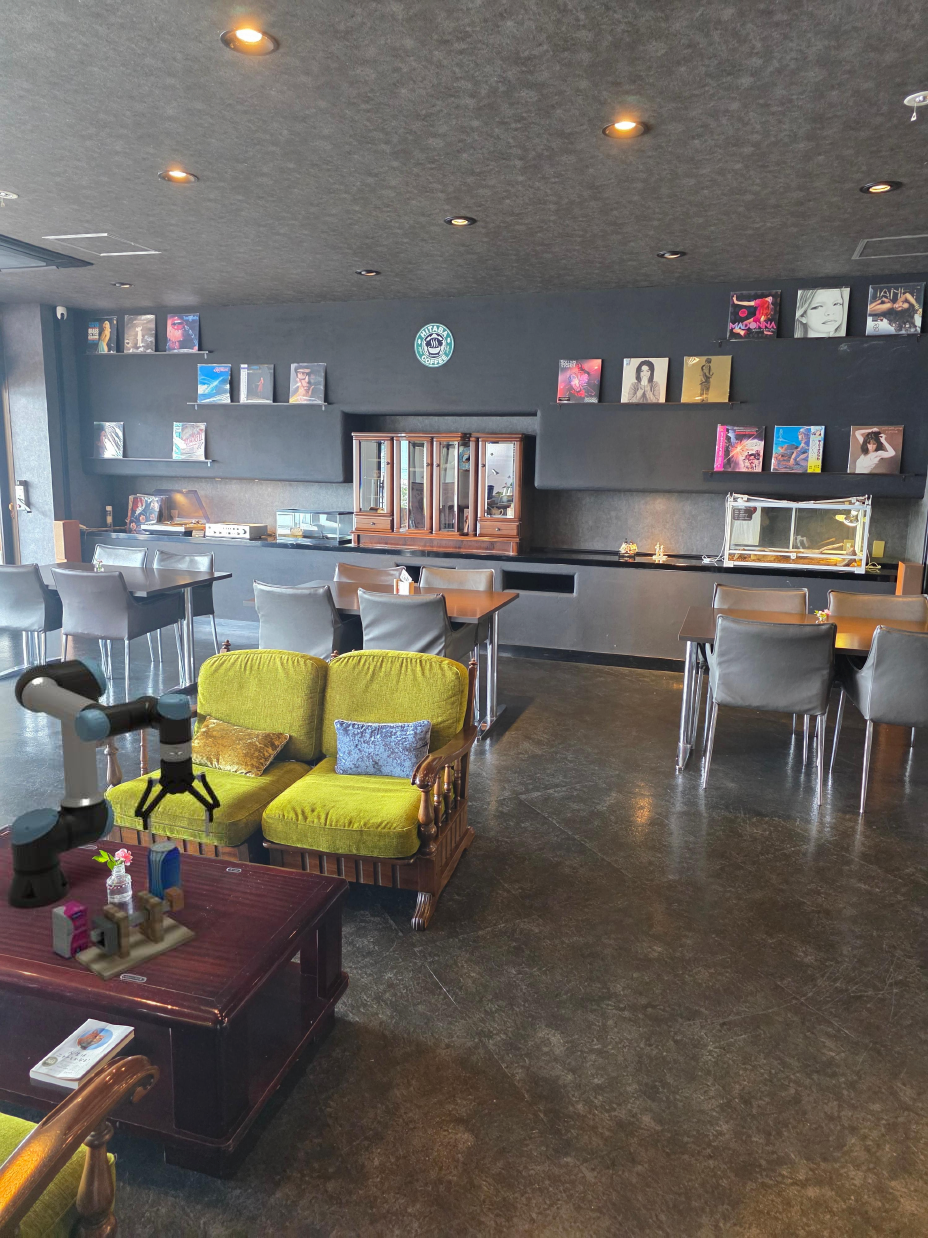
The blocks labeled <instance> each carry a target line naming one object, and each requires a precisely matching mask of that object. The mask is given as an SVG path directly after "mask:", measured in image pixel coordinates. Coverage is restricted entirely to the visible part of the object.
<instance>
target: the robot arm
mask: <svg viewBox="0 0 928 1238" xmlns="http://www.w3.org/2000/svg"><path fill="white" fill-rule="evenodd" d="M107 687H108V683H107V678H106V676H105V672H104V671H103V668H102V667H101V666H100V664H99V663H98V662H97V661H95V660H94V659H92V658H75V659H71V660H64V661H58V662H53V663H48V664H47V663H46V664H39V665H36V666H33V667H30V668H29V669H27V670H25V671H24V672H23V673H22V674H21V675H20V676H19V678H18V679H17V681H16V683H15V686H14V697H15V699H16V701H17V703H19V705H20V706H21V707H23V708H24V709H25V710H27V711H29V712H32V713H35V714H41V713H43V714H46V715H48V716H51V717H53V718H54V719H57V720H58V721H60V729H61V731H60V732H61V745H62V746H61V747H62V760H63V763H62V764H63V772H64V773H63V774H64V777H63V778H64V788H65V789H64V790H65V795H64V796H63V798H61V799H60V801H59V802H60V803H59V805H60V810H56V809H55V808H51V807H43V808H36V809H32V810H30V811H27V812H25V813H23V814H21V815H20V816H18V817H17V818H15V820H14V821H13V822H12V824H11V828H10V843H11V844H10V845H11V852H12V855H11V856H12V869H13V874H12V877H11V881H10V884H9V887H8V891H7V901H8V903H9V904H10V905H11V906H12V907H15V908H19V909H33V908H39V907H45V906H48V905H50V904H54V903H55V902H57V901H60V900H62V899H64V898H65V896H67V895H68V893H69V890H70V884H69V883H70V882H69V880H68V877H67V875H66V873H65V871H64V868H63V867H62V863H61V854H64V853H66V852H69V851H72V850H74V849H78V848H81V847H83V846H87V845H90V844H94V843H97V842H98V841H100V840H103V839H105V838H107V837H108V836H109V835H110V834H111V833H112V831H113V828H114V825H115V810H114V809H113V804H112V802H111V801H110V800H109V798H108V799H107V798H105V794H103V793H102V792H101V791H100V790H99V782H98V781H99V780H98V764H97V761H98V760H97V745H96V742H97V741H102V740H105V739H109V738H113V737H116V736H117V737H118V736H122V735H125V734H130V733H133V732H138V731H141V730H146V729H153V730H157V731H158V736H159V737H158V739H159V740H158V741H159V742H158V744H159V757H160V760H159V763H160V764H159V766H160V768H159V769H160V777H159V778H158V777H157V778H153V777H152V776H149V777H147V783H146V787H145V788H144V789H145V790H144V791H143V793H142V796H141V797H140V799H139V802H138V803H137V805H136V808H135V810H134V817H135V818H141V819H142V830H143V832H144V831H145V832H146V831H147V833H148V834H147V835H148V836H147V837H148V838H147V839H148V845H151V844H152V845H153V836H152V835H153V834H152V815H151V814H152V813H153V811H154V810H155V809H156V808H157V807H158V805H160V803H161V802H162V800H164V798H165V797H167V795H168V794H169V795H171V796H174V795H184V794H185V793H186V792H188V794H189V795H190V796H191V795H192V797H193V798H194V799H195V800H197V802H199V804H201V805H202V807H204V824H205V825H204V826H205V827H204V828H205V837H206V838H208V837H210V823H213V822H214V811H215V810H216V809H219V808H221V801H220V800H219V798H218V796H217V795H216V793H215V791H214V790H213V787H212V786H211V785H210V783H209V781H208V780H207V774H206V772H205V771H201V772H200V773H197V774H194V772H193V771H194V770H193V769H194V768H193V767H194V766H193V757H192V755H193V743H192V742H193V740H192V739H193V738H192V709H191V700H190V698H189V696H187V695H185V694H181V693H180V694H178V693H171V694H165V695H161V696H160V697H159V698H158V697H155V696H154V695H150V694H149V695H147V694H139V695H137V696H135V697H134V698H132V699H131V700H130V701H126V702H121V703H116V704H110V705H105V704H101V703H100V702H99V701H100V699H99V698H102V697H103V696H104V695H106V693H107V689H108V688H107ZM195 781H197V782H198V783H201V784H202V787H203V789H204V790H205V791H206V792H205V793H207V795H208V796H209V798H210V800H211V801H210V800H208V799H207V798H206V797H205V796H204V795H203V794H202V793H201V792H200V791H199V790H198V789H197V788H195V786H194V785H193V783H194V782H195ZM157 785H160V786H161V789H160V790H159V792H158V793H157V794H156V796H155V797H154V798H153V799H152V800H151V801H150V803H149V804H148V805H147V806H146V803H147V801H148V799H149V798H150V795H151V793H152V792H153V791H152V790H153V789H154V788H156V786H157ZM145 806H146V808H144V807H145ZM143 809H144V810H143Z"/></svg>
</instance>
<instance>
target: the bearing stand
mask: <svg viewBox="0 0 928 1238" xmlns="http://www.w3.org/2000/svg"><path fill="white" fill-rule="evenodd" d="M144 908H147V909H149V910H150V918H149V919H147V920H145V921H142V922H140V923H138V926H136V927H134V928H132V929H130V927H129V915H130V914H127V913H126V912H125V911H124V910H121V909H120V908H118V907H117V906H115V905H114V904H111V903H110V904H108V905H105V906H103V916H104V917H105V918H107V919H109V920H110V921H112V922H113V923H115V924H116V925H117V939H118V952H117V953H115V954H112V955H110V956H107V955H106V954H105V953H103V952H102V951H100V950H99V949H97V948H96V947H94V946H93V945H92V946H91V947H88V949H86V950H84V951H81V952H79V953H77V954H75V956H74V957H75V960H76V961H78V962H80V963H81V964H82V965H83V966H85V967H86V968H88V969H89V970H90V971H91V972H93V973H94V974H96V975H97V976H98V977H100V978H101V979H103V980H104V981H105V982H106V981H108V980H111V979H112V978H114V977H117V976H119V975H120V974H123V973H125V972H127V971H129V970H131V969H133V968H136V967H137V966H140V965H142V964H144V963H146V962H148V961H149V960H150V961H151V960H152V959H154V958H156V957H158V956H160V955H162V954H165V953H166V952H169V951H171V950H173V949H175V948H177V947H180V946H182V945H184V944H186V943H187V942H189V941H192V940H194V939H196V932H194V931H192V930H190V929H189V928H187V927H185V926H184V925H182V924H180V923H178V922H177V921H175V920H174V919H171V918H170V917H168V916H166V915H165V914H164V912H163V901H162V900H160V899H159V898H157V897H155V896H153V895H152V894H150V893H149V891H147V890H143V891H140V892H137V911H140V910H142V909H144Z"/></svg>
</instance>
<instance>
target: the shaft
mask: <svg viewBox="0 0 928 1238" xmlns="http://www.w3.org/2000/svg"><path fill="white" fill-rule="evenodd" d="M164 898H165V900H163V913H165V912H167V911H171V912H173V913H175V912H177V911H179V910H182V909H184V908H185V900H184V899H185V894H184V890H183V889H182V888H181V889H179V888H177V887H175V886H174V887H172V888H169V889H167V890H164ZM128 915H129V928H131V927H133V926H135V925H139V923H140V922H142V921H145V920H147V919H149V918H150V910H149V909H147V908H144V909H142V910H140V911H138V910H137V911H135V912H133V913H130V914H128ZM89 933H90V934H89V935H90V941H92V942H93V941H94V942H96V941H99V940H101V939H103V938H104V932H103V931H101V930H100V929H98V928H97V929H95V930H91V931H90V932H89Z"/></svg>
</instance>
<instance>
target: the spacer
mask: <svg viewBox="0 0 928 1238" xmlns="http://www.w3.org/2000/svg"><path fill="white" fill-rule="evenodd" d="M91 926H92V930H95V929H97V928H98V929H100V930H101V931H103V932H104V938H103V939H101V940H99V941H96V942H94V941H93V940H92V947H93V946H94V947H96V948H97V949H99V950H100V951H102V952H103V953H105V954H106V955H107V956H110V955H112V954H115V953H117V952H118V939H117V925H116V924H115V923H113V922H112V921H110V920H109V919H107V918H105V917H104V915H102V914H101V915H99V916H98V915H97V916H96V917H93V918H91ZM92 930H91V931H92Z"/></svg>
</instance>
